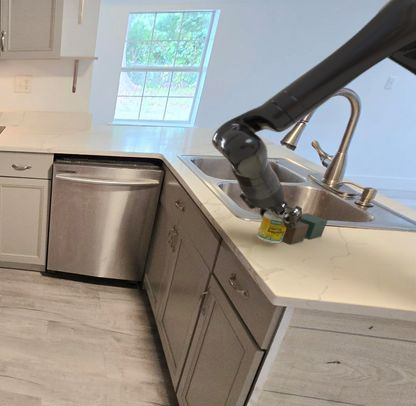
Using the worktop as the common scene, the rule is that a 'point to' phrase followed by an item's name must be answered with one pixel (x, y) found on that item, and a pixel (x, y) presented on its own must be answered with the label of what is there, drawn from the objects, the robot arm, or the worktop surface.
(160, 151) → the worktop surface
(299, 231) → the walnut block
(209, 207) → the worktop surface
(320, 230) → the green block
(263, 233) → the supplement bottle
